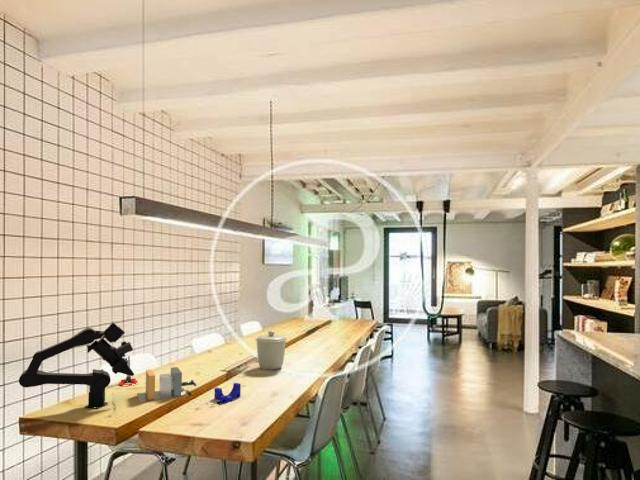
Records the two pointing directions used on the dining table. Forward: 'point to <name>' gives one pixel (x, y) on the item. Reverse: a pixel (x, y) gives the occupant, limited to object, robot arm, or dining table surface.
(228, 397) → the blue arch block
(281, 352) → the canister
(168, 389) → the steel block
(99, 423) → the dining table surface
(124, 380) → the red handwheel with stem
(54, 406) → the dining table surface
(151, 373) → the block
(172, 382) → the vise
